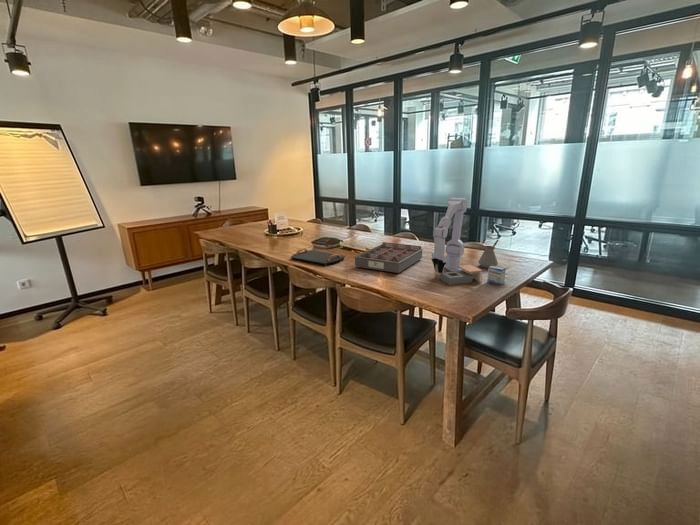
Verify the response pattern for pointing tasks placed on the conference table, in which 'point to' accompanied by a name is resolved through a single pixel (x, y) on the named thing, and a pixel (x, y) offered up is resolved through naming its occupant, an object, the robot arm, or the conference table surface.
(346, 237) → the conference table surface
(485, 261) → the coffee pot
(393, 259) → the organizer tray
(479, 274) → the peach slab
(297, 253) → the serving board
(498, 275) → the medicine box
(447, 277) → the socket block
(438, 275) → the peg
